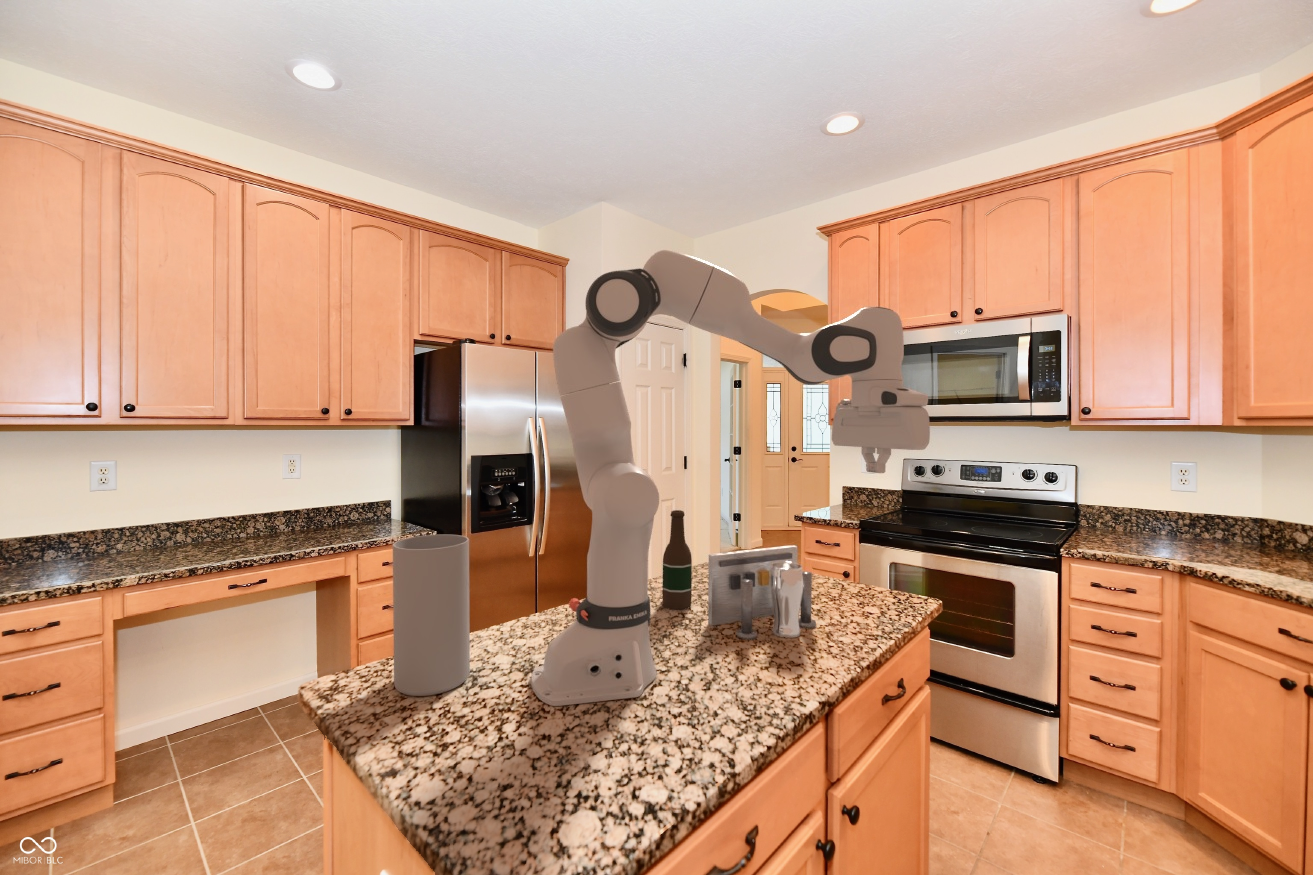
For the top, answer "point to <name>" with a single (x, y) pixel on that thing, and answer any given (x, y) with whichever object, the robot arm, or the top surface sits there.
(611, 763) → the top surface
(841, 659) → the top surface
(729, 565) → the panel
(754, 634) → the post left
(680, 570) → the beer bottle
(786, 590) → the beer glass
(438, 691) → the cylinder vase
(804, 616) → the post right
